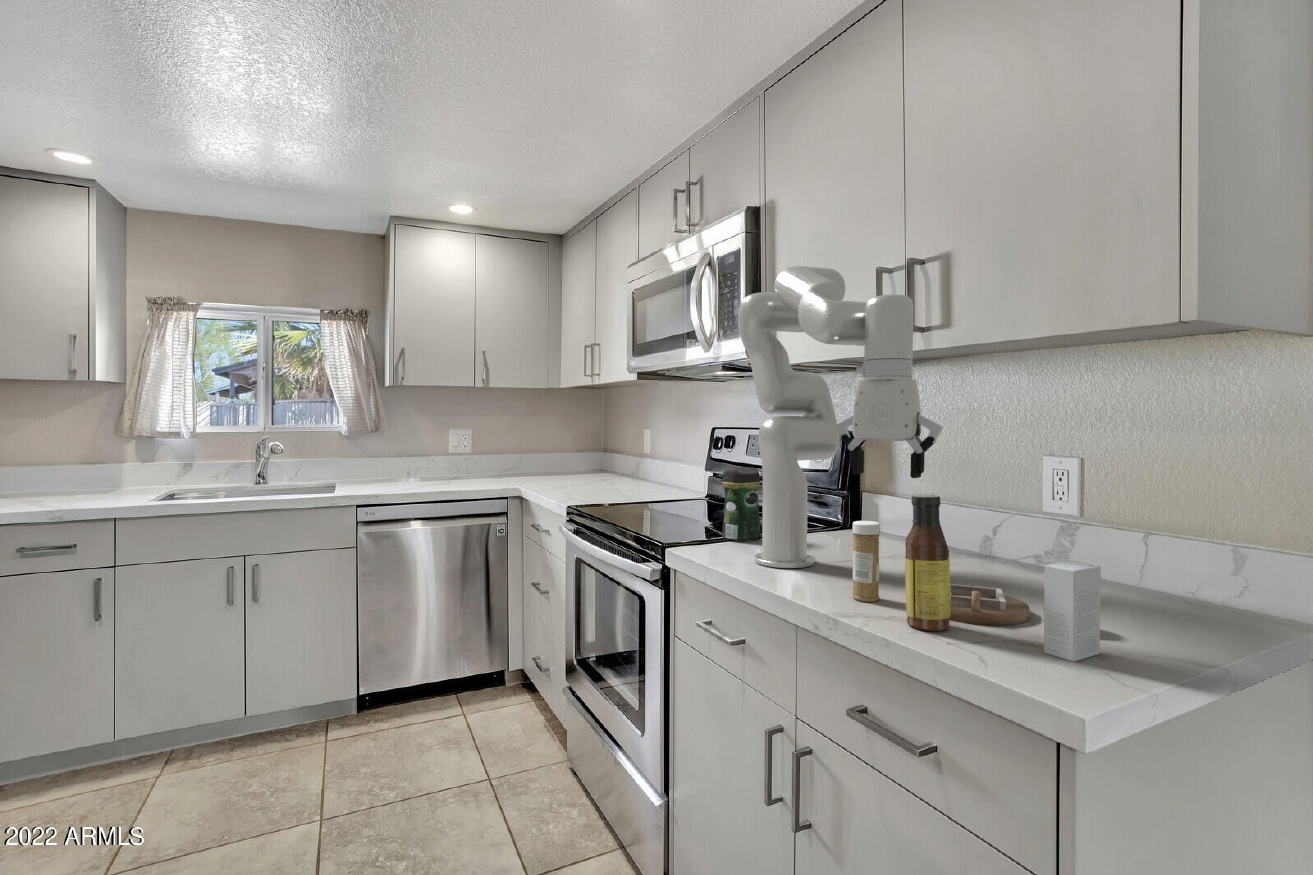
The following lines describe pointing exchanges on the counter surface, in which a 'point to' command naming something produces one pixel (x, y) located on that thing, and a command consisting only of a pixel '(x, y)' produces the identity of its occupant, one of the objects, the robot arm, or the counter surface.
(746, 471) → the coffee jar
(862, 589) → the spice jar
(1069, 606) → the skincare box
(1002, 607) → the brown piece
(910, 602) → the sauce bottle
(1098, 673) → the counter surface
